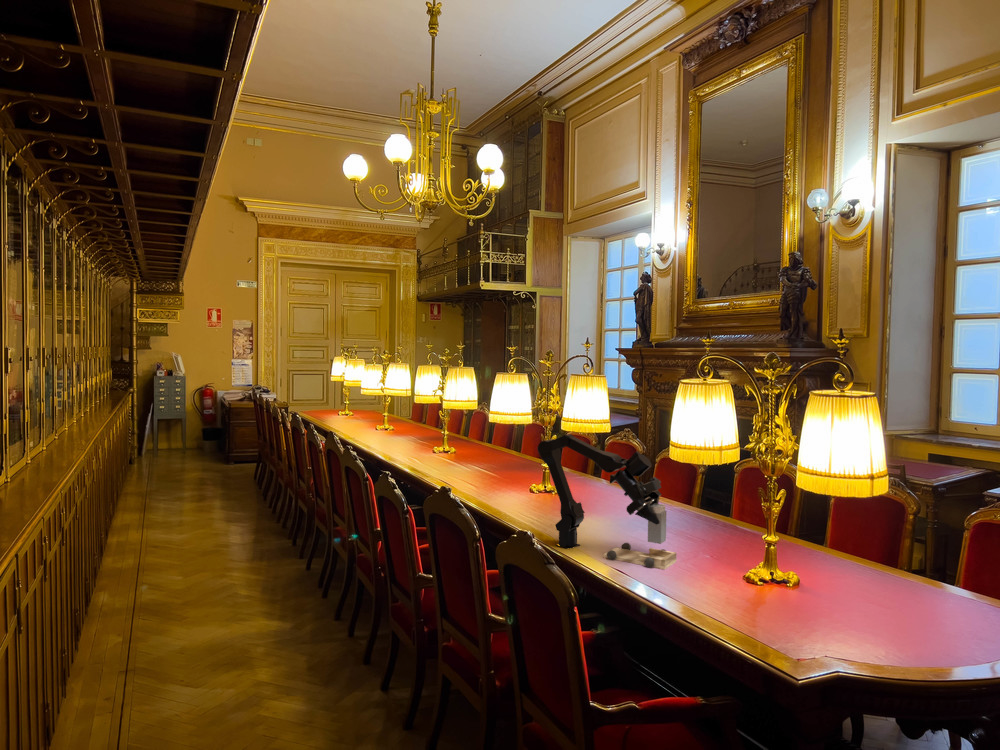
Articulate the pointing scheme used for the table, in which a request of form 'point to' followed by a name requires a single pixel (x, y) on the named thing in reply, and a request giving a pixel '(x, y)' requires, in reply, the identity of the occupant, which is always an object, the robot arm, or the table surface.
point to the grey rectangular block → (657, 531)
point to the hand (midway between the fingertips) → (661, 522)
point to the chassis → (642, 556)
